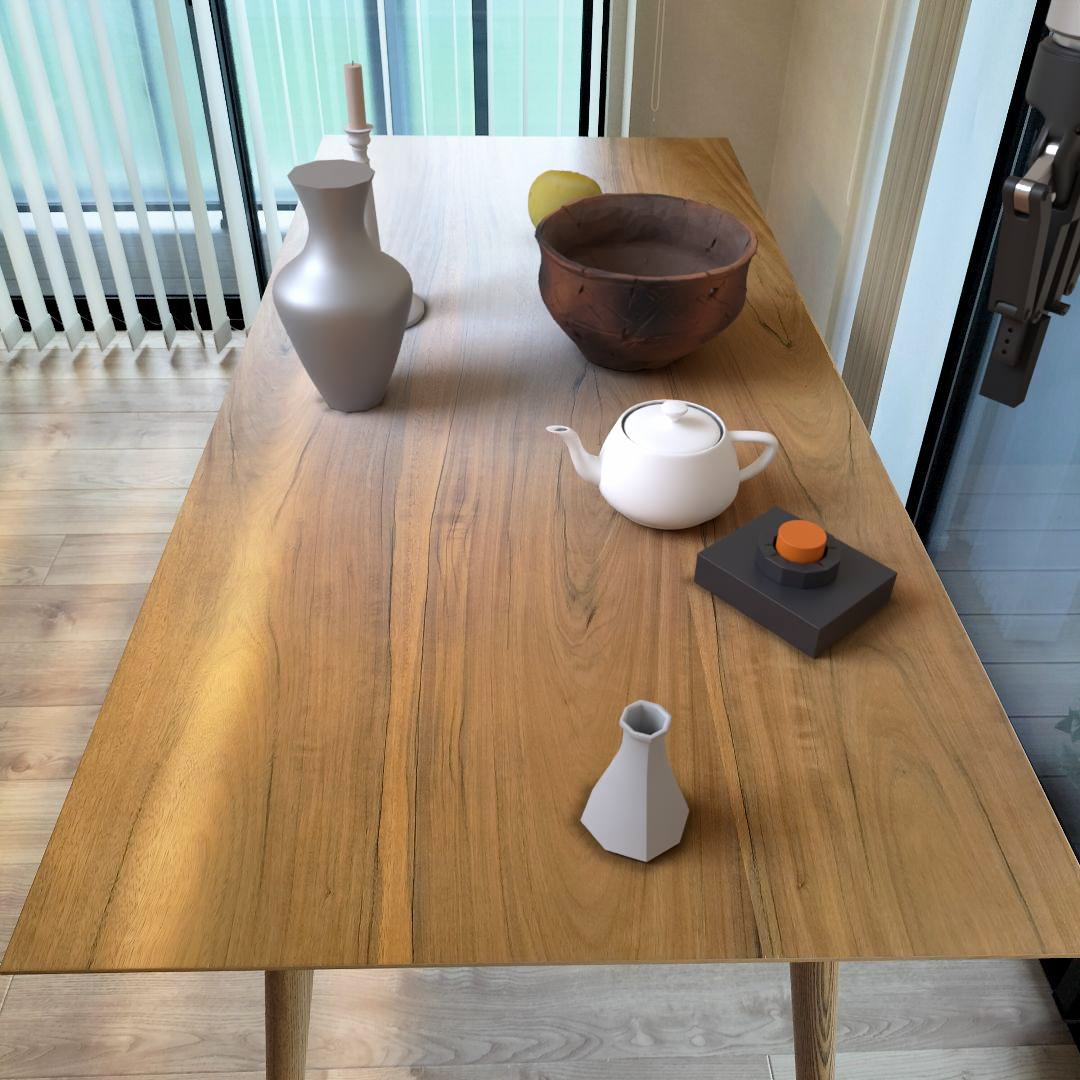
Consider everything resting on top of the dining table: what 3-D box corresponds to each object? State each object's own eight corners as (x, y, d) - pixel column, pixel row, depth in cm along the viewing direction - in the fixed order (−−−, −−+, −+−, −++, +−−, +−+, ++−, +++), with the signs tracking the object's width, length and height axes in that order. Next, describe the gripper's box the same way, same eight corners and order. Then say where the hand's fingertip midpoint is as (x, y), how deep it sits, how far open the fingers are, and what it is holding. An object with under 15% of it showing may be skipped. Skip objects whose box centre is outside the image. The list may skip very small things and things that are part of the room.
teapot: (753, 460, 111) (768, 367, 104) (784, 542, 100) (804, 443, 94) (540, 464, 110) (542, 370, 103) (548, 546, 99) (551, 447, 92)
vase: (403, 436, 114) (386, 203, 98) (270, 425, 115) (233, 193, 100) (431, 370, 125) (419, 152, 110) (309, 361, 126) (282, 144, 111)
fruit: (608, 250, 154) (612, 180, 148) (534, 255, 152) (535, 184, 146) (592, 223, 162) (595, 156, 156) (522, 227, 160) (522, 160, 154)
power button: (832, 551, 92) (836, 535, 91) (804, 571, 90) (807, 554, 88) (794, 530, 94) (798, 514, 93) (766, 548, 92) (768, 532, 91)
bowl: (713, 421, 117) (731, 291, 108) (502, 379, 124) (502, 253, 114) (758, 325, 136) (777, 207, 127) (573, 293, 142) (577, 179, 133)
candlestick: (335, 287, 142) (309, 44, 124) (431, 292, 142) (419, 48, 123) (311, 331, 132) (278, 73, 114) (414, 337, 132) (398, 78, 113)
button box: (890, 601, 94) (902, 555, 91) (813, 658, 88) (824, 612, 85) (771, 532, 101) (779, 488, 98) (693, 581, 95) (699, 536, 92)
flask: (561, 824, 74) (566, 724, 68) (621, 761, 79) (630, 662, 73) (649, 881, 71) (663, 781, 65) (706, 811, 75) (724, 711, 69)
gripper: (1096, 15, 68) (997, 352, 83) (994, 44, 61) (905, 408, 75) (1220, 35, 64) (1094, 387, 78) (1126, 69, 57) (1005, 450, 71)
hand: (1001, 397), depth 77 cm, fingers closed
